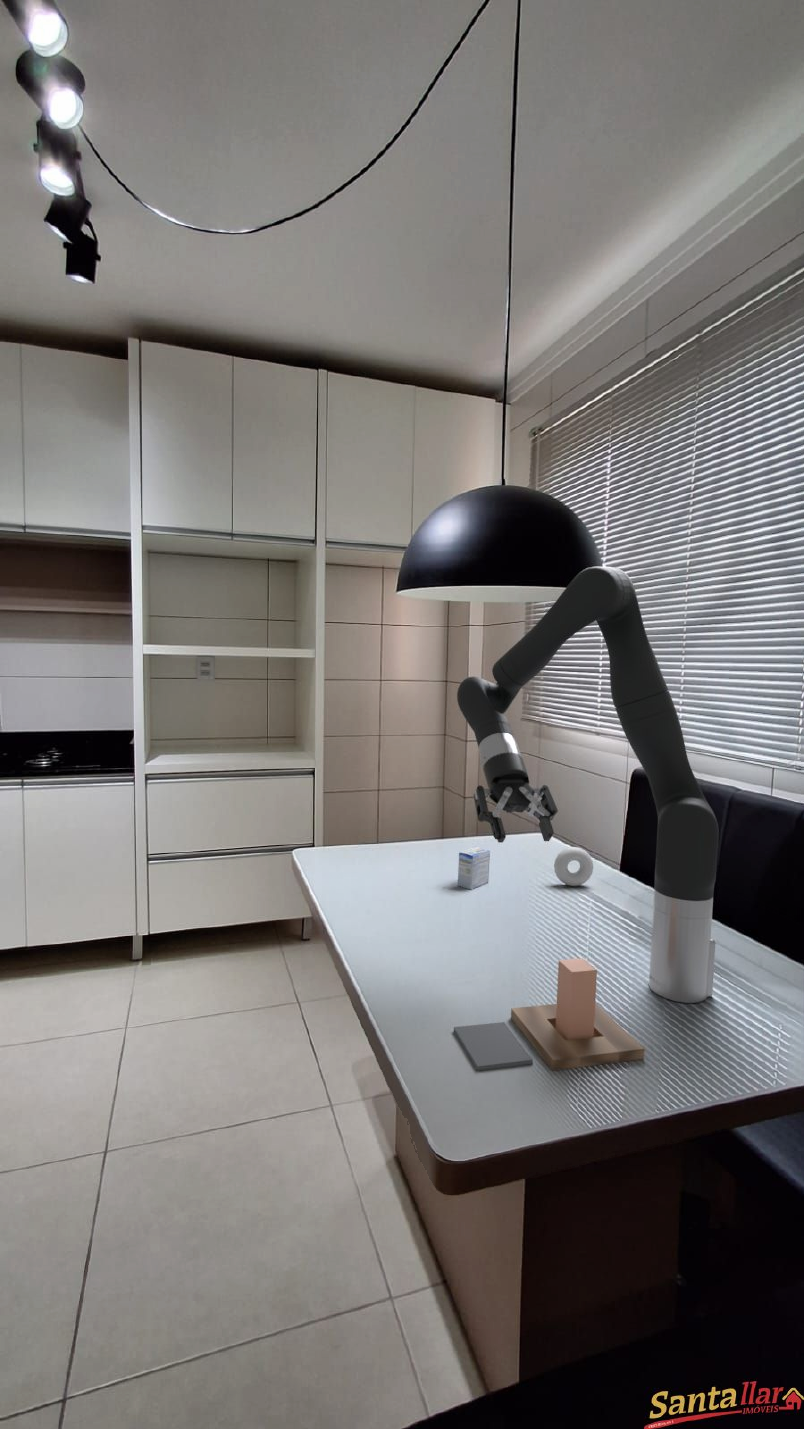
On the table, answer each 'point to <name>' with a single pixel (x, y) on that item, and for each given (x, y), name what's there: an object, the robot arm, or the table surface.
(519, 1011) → the puzzle board
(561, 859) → the donut
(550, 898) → the table surface
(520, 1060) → the mat
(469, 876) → the medicine box
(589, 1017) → the block
